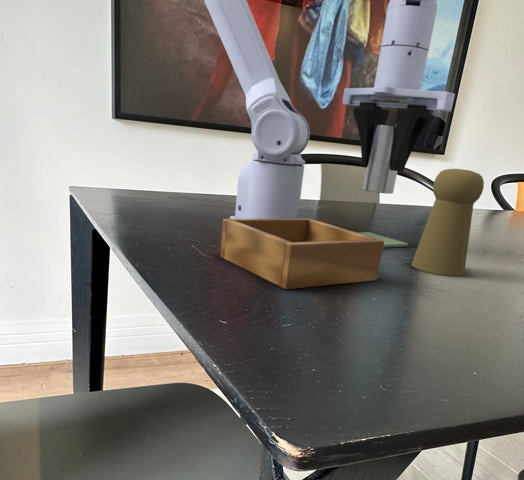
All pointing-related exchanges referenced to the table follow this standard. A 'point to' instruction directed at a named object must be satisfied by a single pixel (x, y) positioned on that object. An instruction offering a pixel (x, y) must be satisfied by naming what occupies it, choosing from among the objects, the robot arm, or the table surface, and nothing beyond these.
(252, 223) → the wooden box
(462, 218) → the cork
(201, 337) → the table surface
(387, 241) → the felt mat
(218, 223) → the table surface
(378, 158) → the metal tube
